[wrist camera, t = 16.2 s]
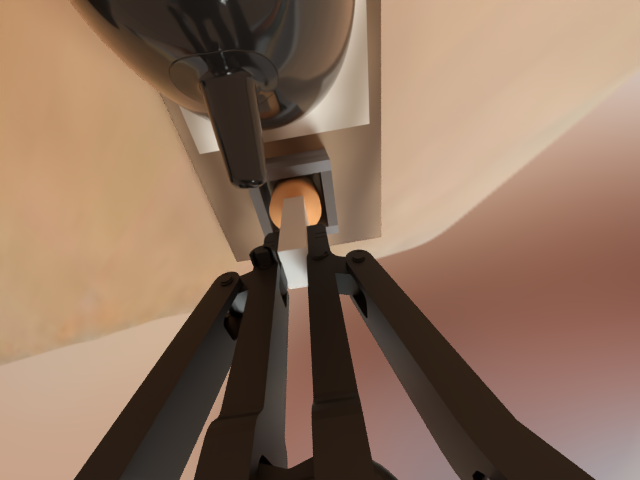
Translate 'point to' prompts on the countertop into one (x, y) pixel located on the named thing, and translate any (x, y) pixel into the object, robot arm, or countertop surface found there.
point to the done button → (293, 189)
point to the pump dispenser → (231, 62)
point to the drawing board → (308, 152)
